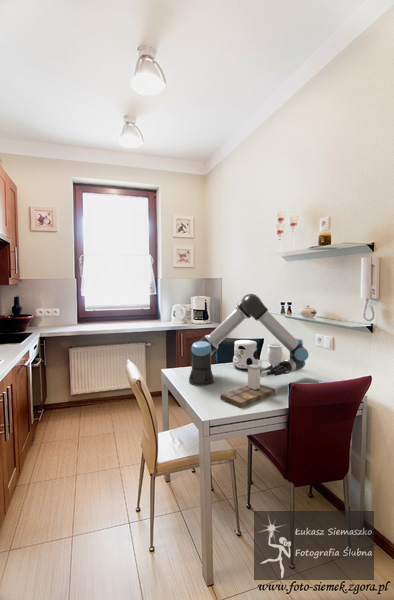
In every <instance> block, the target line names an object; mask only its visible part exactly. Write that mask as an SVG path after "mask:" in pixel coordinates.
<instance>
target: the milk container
mask: <svg viewBox="0 0 394 600" xmlns="http://www.w3.org/2000/svg"><path fill="white" fill-rule="evenodd" d="M233 346H234V349H233V351H234V353H233V358H232V364H233V366H234V367H235V368H237V369H240V370H248V368H247V366H248V365H252V364H254V365H258V366H259V358H258V343H257V341H255V340H250V339H239V340H235V341H234V345H233Z"/></svg>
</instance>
